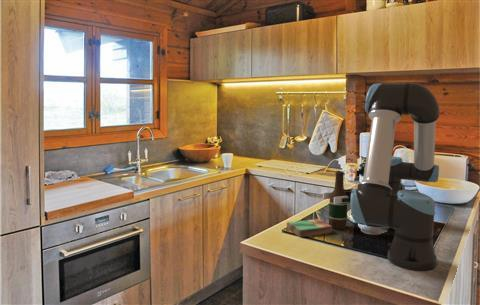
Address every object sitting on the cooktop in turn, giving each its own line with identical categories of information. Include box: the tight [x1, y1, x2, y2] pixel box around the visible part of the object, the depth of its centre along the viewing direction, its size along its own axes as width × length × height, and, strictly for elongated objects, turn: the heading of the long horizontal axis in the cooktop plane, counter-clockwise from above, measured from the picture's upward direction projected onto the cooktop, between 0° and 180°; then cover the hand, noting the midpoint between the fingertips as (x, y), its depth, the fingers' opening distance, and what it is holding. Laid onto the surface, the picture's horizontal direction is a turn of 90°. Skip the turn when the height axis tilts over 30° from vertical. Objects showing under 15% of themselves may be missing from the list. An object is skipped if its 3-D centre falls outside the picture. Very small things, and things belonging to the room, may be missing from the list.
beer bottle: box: [328, 170, 348, 231], centre depth 165 cm, size 8×8×24 cm
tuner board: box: [286, 218, 333, 238], centre depth 162 cm, size 11×15×3 cm
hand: (328, 198), depth 163 cm, fingers closed on beer bottle, 7 cm apart
